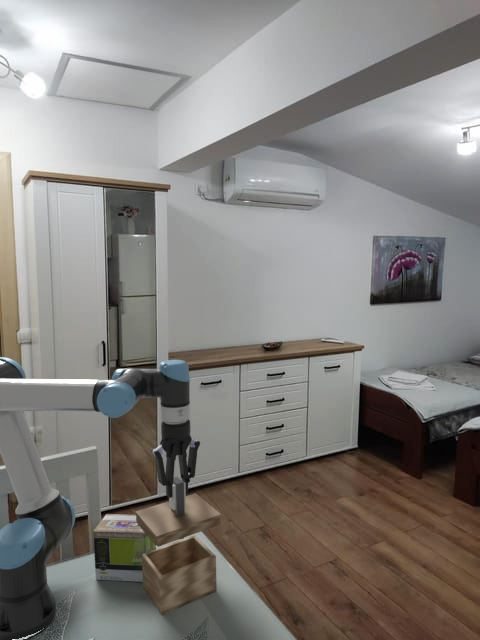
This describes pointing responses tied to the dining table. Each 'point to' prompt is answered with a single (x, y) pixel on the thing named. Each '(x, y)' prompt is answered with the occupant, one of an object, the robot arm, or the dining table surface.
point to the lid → (177, 517)
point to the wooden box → (178, 574)
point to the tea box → (120, 548)
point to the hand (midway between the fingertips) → (177, 506)
